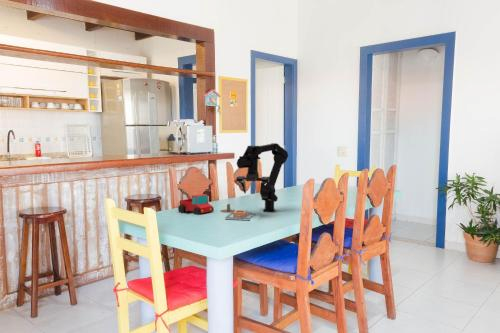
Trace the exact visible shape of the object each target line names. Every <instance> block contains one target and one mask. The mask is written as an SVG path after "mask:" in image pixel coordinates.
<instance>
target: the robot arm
mask: <svg viewBox="0 0 500 333" xmlns="http://www.w3.org/2000/svg"><path fill="white" fill-rule="evenodd" d="M265 152H271V153H272V155H273V165H272V168H271V172H270V173H269V176H261V177H259V168H258V167H259V163H258V162H259V160H261V159H262V158H261V157H260V155H261V154H263V153H265ZM288 157H289V153H288V151H287V150H286V149H285V148H283V147H282V146H281V145H280V144H279V143H276V142H274V143H273V142H272V143H269V144H263V145H247V147H246V149H245V151H244V153H243V155H241V156H240V155H239V157H238V159H237V161H236V166H237V168H238V169H247V173H246V175H238V176H237V177H235V178H236V183H237V182H238V184H240V185H241V187H242V190H243V192H244V194H246V192H247V189H246V182H260V187H259V188H260V189H259V195H260V198H261V200H262V201H264V209H263V212H270V213H271V212H272V213H273V212H275V211H276V208H275V202H277V201H278V195H276V187H275V186H276V182H277V180H278V178H279V177H278V176H279V174H280V171H281V169H282V166H283V165H284V164H285V163H286V162H287V161H288V160H287V159H288Z"/></svg>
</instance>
